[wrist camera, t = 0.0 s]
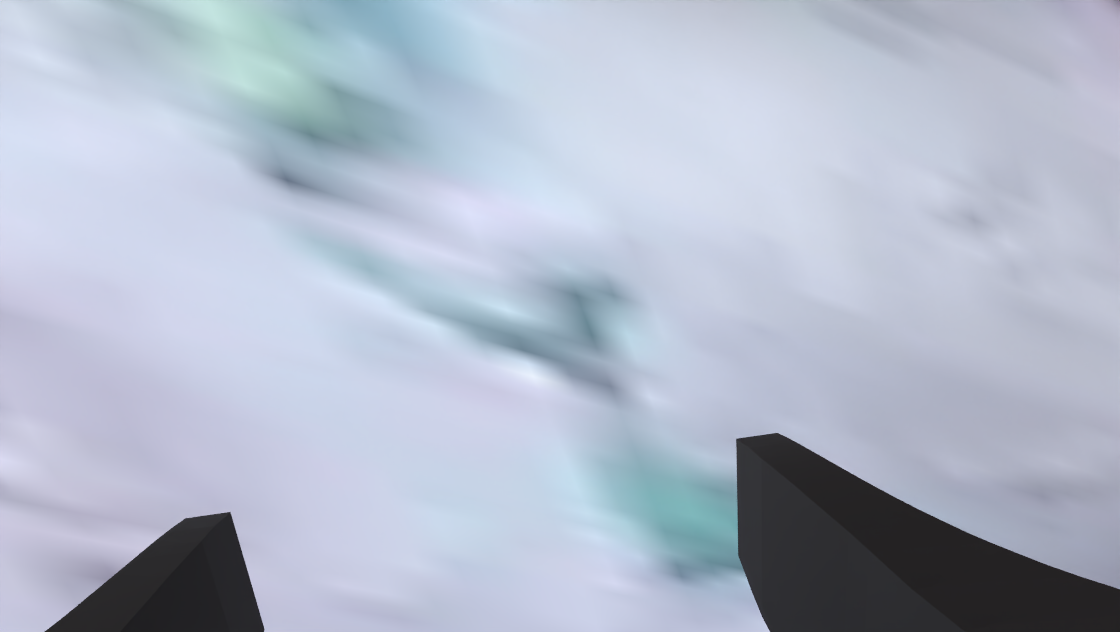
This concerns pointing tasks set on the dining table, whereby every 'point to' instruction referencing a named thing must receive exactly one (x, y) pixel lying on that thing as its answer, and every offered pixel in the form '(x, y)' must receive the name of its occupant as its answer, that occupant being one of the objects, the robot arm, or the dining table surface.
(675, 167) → the dining table surface
